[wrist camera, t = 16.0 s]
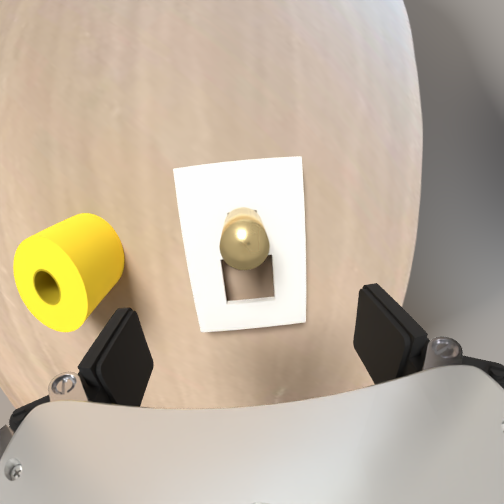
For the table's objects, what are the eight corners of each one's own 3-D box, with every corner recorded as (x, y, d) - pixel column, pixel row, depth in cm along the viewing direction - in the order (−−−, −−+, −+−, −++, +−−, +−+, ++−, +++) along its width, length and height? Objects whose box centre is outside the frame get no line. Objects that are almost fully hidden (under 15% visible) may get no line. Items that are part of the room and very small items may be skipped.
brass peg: (263, 235, 29) (273, 269, 20) (225, 239, 29) (220, 275, 20) (260, 198, 28) (270, 217, 19) (221, 202, 28) (213, 222, 19)
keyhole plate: (301, 311, 32) (305, 322, 30) (203, 320, 32) (201, 332, 30) (296, 156, 26) (301, 156, 24) (178, 167, 26) (173, 168, 24)
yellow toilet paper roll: (48, 230, 27) (2, 255, 18) (104, 200, 27) (56, 219, 18) (79, 298, 30) (44, 337, 22) (137, 279, 30) (105, 323, 21)
